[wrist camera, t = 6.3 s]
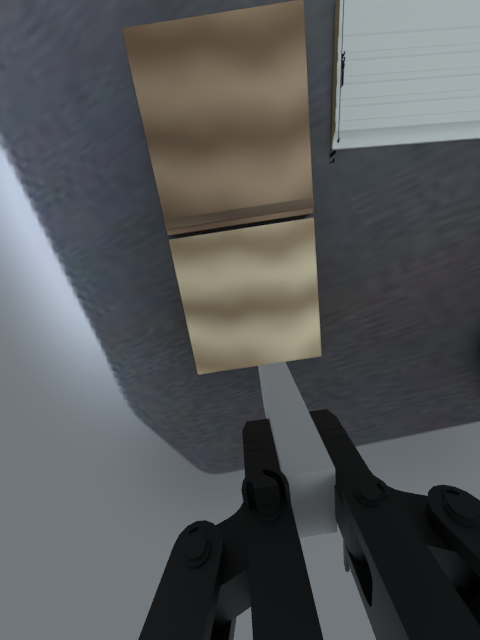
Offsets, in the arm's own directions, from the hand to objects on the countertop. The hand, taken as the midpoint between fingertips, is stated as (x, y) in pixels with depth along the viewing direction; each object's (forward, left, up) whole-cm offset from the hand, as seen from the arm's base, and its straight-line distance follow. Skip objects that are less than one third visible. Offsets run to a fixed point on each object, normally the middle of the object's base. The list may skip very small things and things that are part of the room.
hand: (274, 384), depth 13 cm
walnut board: (-17, 0, -15) cm, 22 cm away
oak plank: (-2, 0, -14) cm, 14 cm away
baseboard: (-19, +25, -15) cm, 35 cm away
